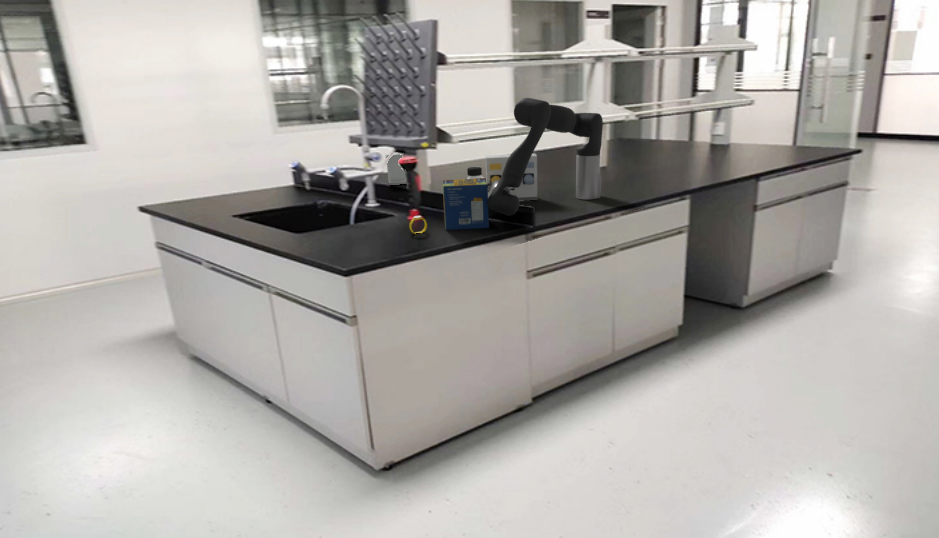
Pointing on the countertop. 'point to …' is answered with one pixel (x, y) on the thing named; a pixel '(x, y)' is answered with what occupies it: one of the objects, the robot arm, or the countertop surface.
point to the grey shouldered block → (395, 169)
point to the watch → (417, 219)
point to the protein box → (465, 203)
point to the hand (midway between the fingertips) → (496, 182)
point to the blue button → (528, 179)
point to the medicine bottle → (474, 172)
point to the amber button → (495, 178)
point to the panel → (524, 191)
